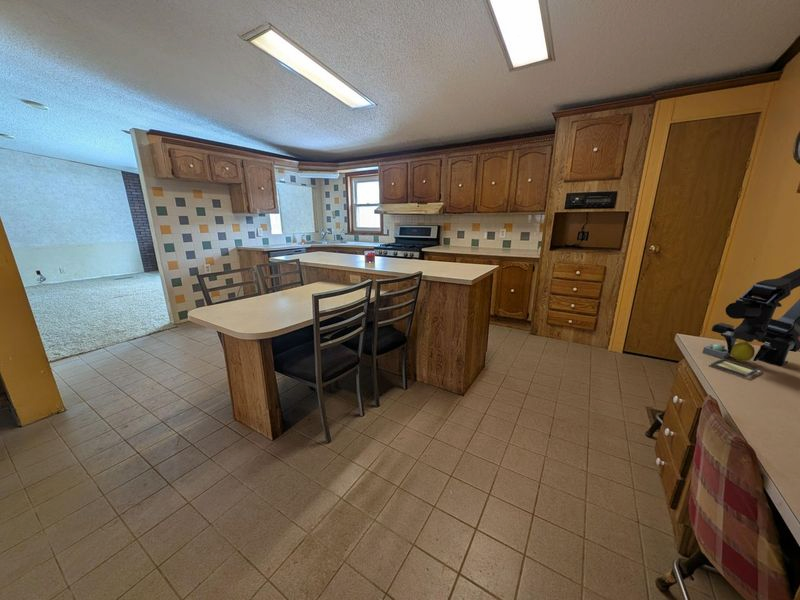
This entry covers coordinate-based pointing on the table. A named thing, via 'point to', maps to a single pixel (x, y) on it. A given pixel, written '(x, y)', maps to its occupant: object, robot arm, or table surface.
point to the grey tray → (736, 369)
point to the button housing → (716, 352)
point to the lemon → (742, 351)
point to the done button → (718, 347)
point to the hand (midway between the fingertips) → (741, 356)
